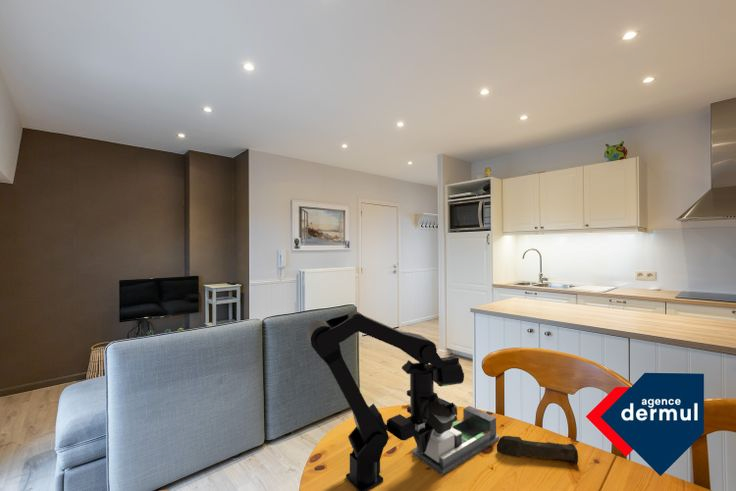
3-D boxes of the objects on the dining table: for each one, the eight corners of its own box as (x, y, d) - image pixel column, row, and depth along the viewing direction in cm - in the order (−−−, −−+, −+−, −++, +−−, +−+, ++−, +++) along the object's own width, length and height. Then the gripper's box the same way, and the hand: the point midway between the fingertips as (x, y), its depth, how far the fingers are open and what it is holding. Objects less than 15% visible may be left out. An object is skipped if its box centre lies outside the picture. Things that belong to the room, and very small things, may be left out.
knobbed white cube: (438, 462, 79) (438, 440, 79) (420, 450, 84) (420, 429, 84) (454, 453, 83) (454, 432, 83) (436, 442, 87) (436, 422, 87)
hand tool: (573, 456, 84) (572, 438, 84) (579, 466, 80) (579, 447, 80) (495, 447, 88) (495, 430, 88) (497, 456, 84) (497, 438, 84)
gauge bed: (442, 475, 77) (442, 449, 77) (412, 454, 85) (412, 431, 85) (499, 439, 91) (499, 418, 91) (469, 424, 99) (468, 404, 99)
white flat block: (456, 452, 83) (456, 435, 83) (438, 441, 88) (438, 425, 88) (461, 449, 84) (461, 432, 84) (443, 438, 89) (443, 422, 89)
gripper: (418, 412, 68) (419, 488, 68) (472, 389, 79) (473, 453, 79) (384, 394, 77) (385, 460, 77) (437, 375, 88) (438, 433, 88)
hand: (422, 452), depth 80 cm, fingers closed
